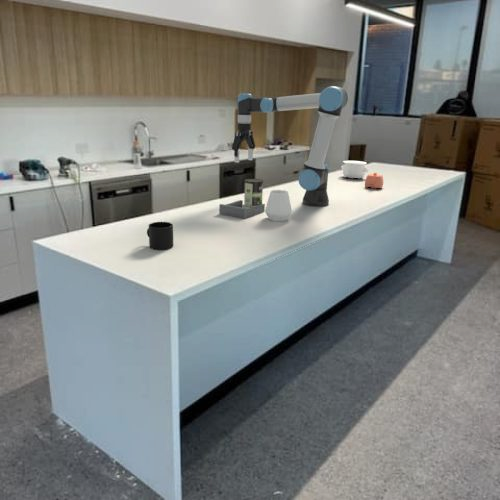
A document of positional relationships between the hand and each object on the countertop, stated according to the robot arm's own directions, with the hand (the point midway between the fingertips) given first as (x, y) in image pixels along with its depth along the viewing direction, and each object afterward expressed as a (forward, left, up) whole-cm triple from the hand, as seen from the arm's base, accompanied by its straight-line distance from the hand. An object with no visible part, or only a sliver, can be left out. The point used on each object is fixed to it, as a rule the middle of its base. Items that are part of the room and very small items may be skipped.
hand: (243, 161), depth 262 cm
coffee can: (-12, +7, -23) cm, 26 cm away
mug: (-21, +93, -23) cm, 98 cm away
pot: (-23, -123, -23) cm, 127 cm away
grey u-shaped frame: (-17, +25, -23) cm, 38 cm away
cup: (-38, +25, -23) cm, 50 cm away
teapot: (-49, -92, -23) cm, 106 cm away
